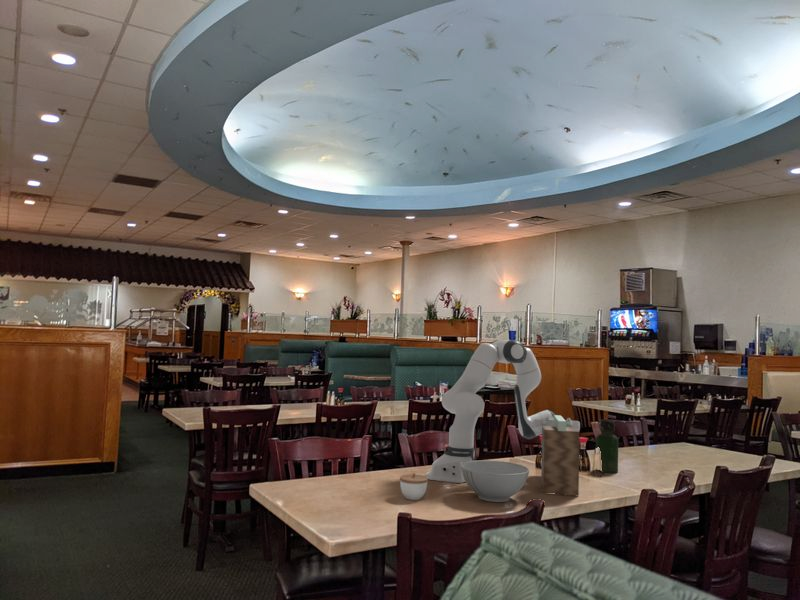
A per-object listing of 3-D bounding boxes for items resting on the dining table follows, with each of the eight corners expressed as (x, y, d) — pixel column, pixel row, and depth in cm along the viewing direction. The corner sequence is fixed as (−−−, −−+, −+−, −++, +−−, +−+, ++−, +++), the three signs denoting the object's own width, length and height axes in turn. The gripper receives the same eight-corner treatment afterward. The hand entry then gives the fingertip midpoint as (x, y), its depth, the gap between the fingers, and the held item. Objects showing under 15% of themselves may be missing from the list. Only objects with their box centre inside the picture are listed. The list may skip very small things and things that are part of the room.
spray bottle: (609, 468, 308) (610, 418, 309) (622, 473, 298) (622, 421, 299) (591, 468, 305) (592, 418, 306) (603, 473, 295) (604, 421, 296)
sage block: (558, 430, 250) (558, 421, 251) (553, 424, 271) (553, 415, 271) (565, 431, 250) (566, 421, 250) (560, 424, 270) (560, 415, 271)
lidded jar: (399, 493, 242) (400, 469, 243) (426, 495, 242) (427, 471, 242) (398, 500, 231) (399, 475, 232) (427, 502, 231) (428, 477, 232)
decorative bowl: (449, 500, 235) (450, 468, 236) (474, 486, 259) (474, 457, 260) (516, 511, 223) (517, 477, 223) (536, 496, 246) (537, 465, 247)
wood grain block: (543, 493, 250) (544, 429, 252) (541, 486, 262) (542, 425, 264) (578, 496, 248) (579, 431, 250) (574, 489, 260) (575, 427, 262)
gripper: (531, 423, 282) (533, 411, 271) (577, 426, 279) (581, 413, 268) (531, 436, 279) (533, 424, 267) (577, 439, 275) (582, 427, 264)
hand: (557, 419), depth 267 cm, fingers open, 8 cm apart
